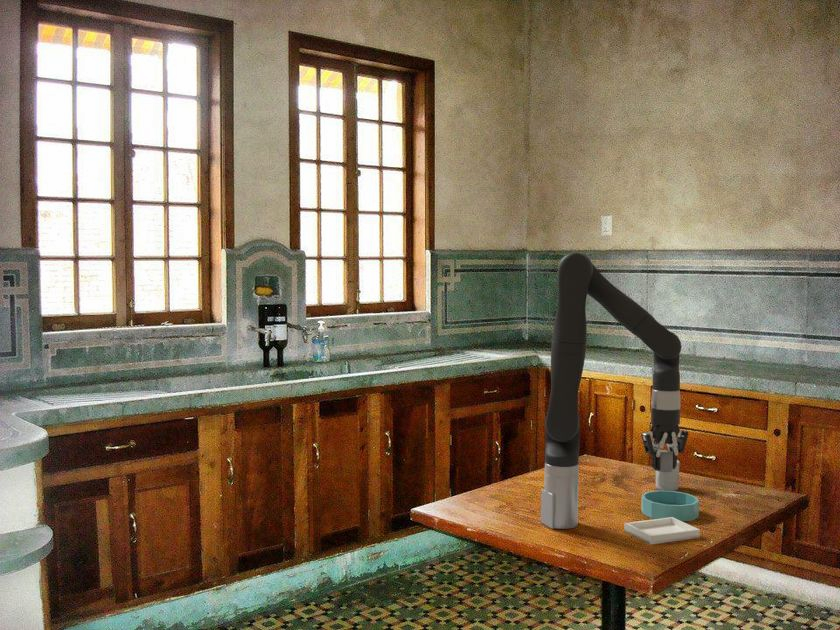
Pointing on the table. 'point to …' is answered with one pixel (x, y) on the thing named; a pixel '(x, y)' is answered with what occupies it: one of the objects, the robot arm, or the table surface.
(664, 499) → the bowl
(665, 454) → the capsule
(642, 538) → the tray
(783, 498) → the table surface
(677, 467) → the cup
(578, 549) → the table surface
